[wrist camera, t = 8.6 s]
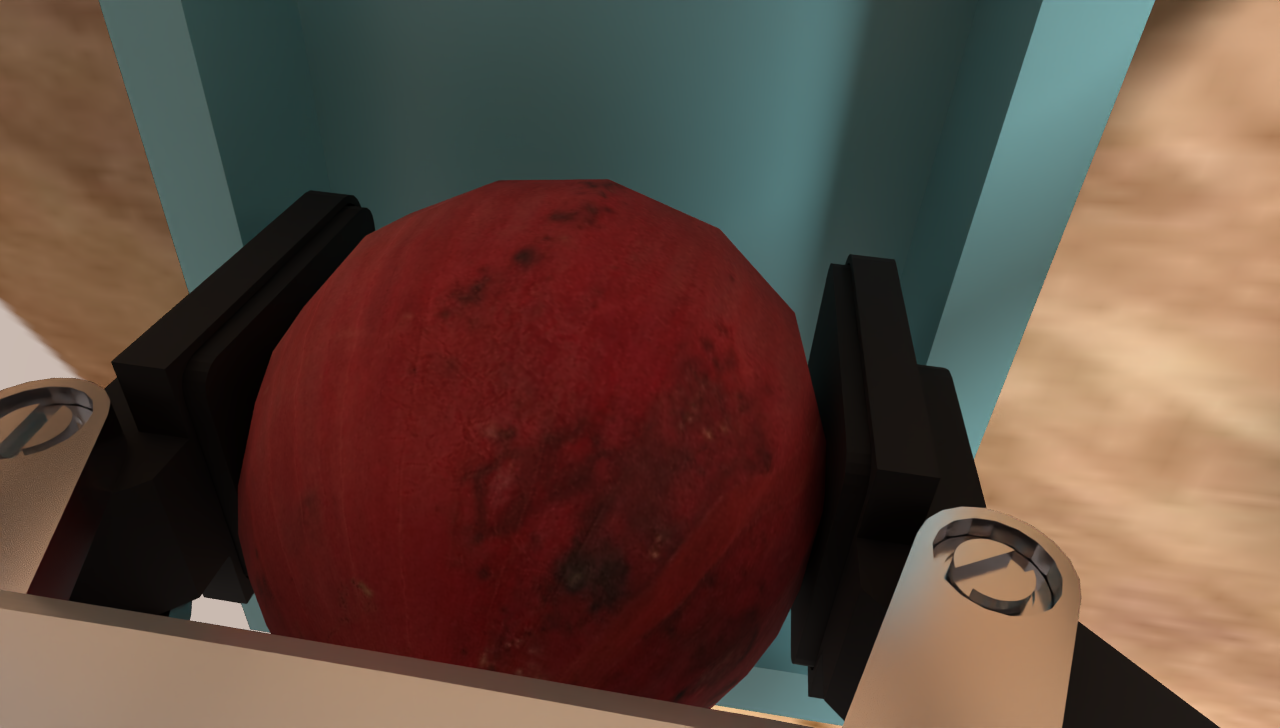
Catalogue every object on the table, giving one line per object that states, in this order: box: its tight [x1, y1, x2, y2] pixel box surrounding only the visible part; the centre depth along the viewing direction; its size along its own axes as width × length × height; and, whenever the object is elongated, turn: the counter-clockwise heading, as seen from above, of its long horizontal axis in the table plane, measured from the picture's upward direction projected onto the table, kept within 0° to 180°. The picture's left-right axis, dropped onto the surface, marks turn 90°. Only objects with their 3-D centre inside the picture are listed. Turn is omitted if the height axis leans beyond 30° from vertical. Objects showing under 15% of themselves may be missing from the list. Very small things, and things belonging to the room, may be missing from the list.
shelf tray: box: [99, 0, 1155, 726], centre depth 12 cm, size 11×14×4 cm
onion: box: [238, 179, 826, 709], centre depth 9 cm, size 6×6×8 cm
